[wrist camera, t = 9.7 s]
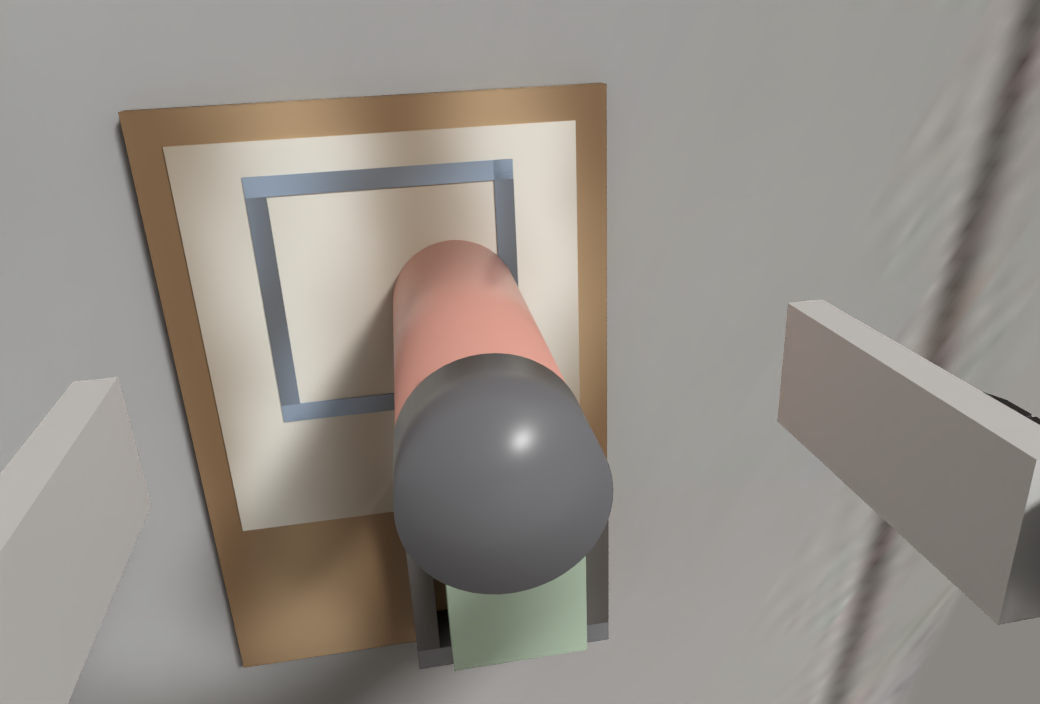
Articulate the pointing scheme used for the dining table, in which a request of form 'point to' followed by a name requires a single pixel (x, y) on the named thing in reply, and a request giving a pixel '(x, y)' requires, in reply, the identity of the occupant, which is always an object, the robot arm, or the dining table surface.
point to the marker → (486, 431)
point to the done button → (519, 622)
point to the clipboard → (354, 324)
